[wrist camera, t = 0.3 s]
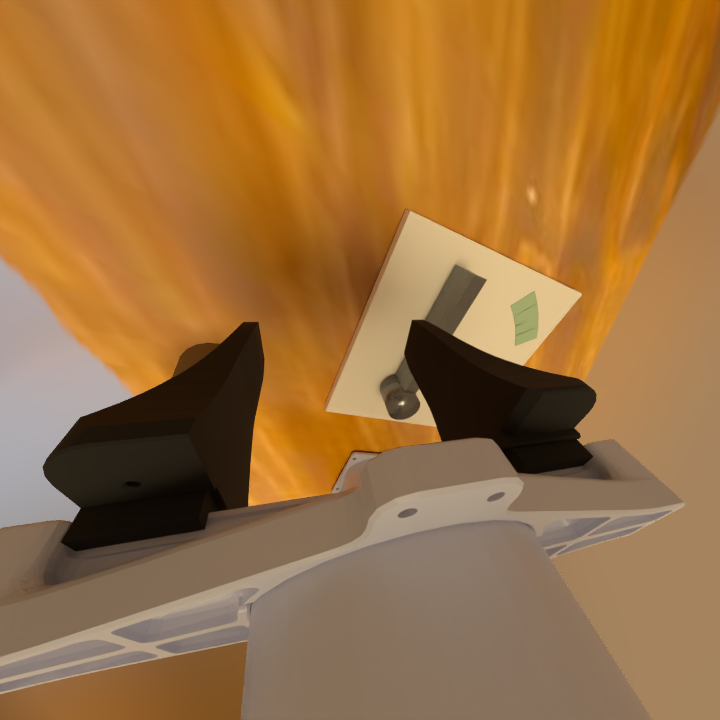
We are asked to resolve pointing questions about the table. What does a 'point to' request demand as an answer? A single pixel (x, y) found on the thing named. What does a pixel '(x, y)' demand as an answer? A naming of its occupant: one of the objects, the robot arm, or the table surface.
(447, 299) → the pointer
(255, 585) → the robot arm
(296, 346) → the table surface
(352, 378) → the dial board
